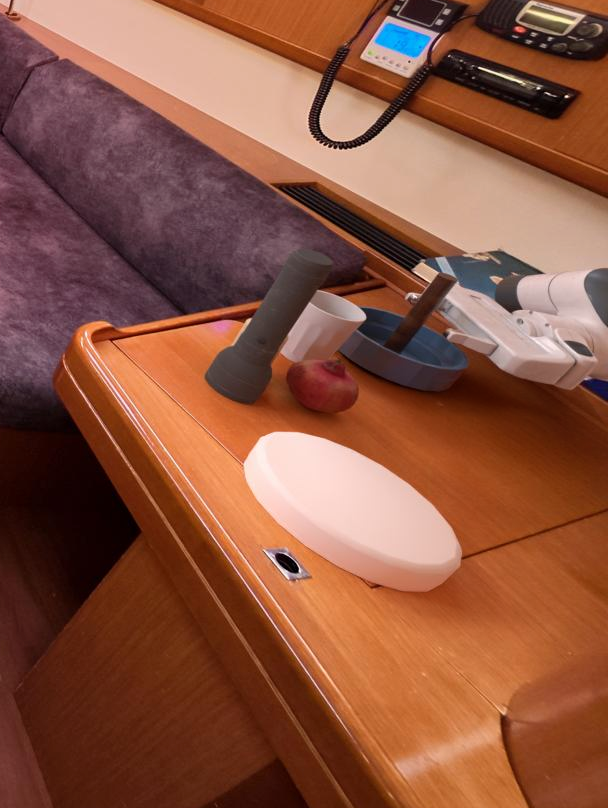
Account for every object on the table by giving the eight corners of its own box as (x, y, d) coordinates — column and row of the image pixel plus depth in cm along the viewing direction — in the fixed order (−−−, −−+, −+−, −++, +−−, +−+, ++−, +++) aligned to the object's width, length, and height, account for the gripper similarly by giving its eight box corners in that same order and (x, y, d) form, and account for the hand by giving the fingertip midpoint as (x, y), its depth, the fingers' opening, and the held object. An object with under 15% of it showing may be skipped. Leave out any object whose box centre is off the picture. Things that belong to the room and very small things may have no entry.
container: (211, 438, 96) (224, 418, 94) (356, 459, 94) (373, 439, 92) (312, 576, 79) (331, 554, 77) (495, 607, 76) (519, 586, 74)
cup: (288, 367, 110) (323, 316, 105) (260, 335, 117) (291, 286, 112) (341, 376, 108) (379, 325, 103) (309, 343, 115) (343, 294, 110)
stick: (398, 355, 112) (461, 276, 104) (403, 367, 110) (467, 286, 101) (370, 345, 114) (429, 266, 106) (374, 357, 112) (435, 277, 103)
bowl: (435, 356, 113) (455, 332, 111) (458, 410, 103) (481, 384, 100) (321, 317, 122) (337, 294, 119) (331, 363, 111) (349, 338, 108)
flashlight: (194, 372, 108) (233, 405, 102) (270, 243, 96) (320, 273, 90) (229, 368, 109) (269, 402, 103) (309, 241, 97) (360, 270, 91)
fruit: (355, 430, 98) (390, 386, 94) (294, 418, 100) (326, 374, 96) (321, 390, 105) (352, 348, 101) (264, 379, 107) (293, 337, 103)
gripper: (499, 285, 110) (398, 265, 114) (608, 369, 92) (484, 342, 97) (477, 312, 112) (379, 291, 117) (579, 398, 95) (459, 371, 100)
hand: (427, 315), depth 107 cm, fingers open, 8 cm apart
